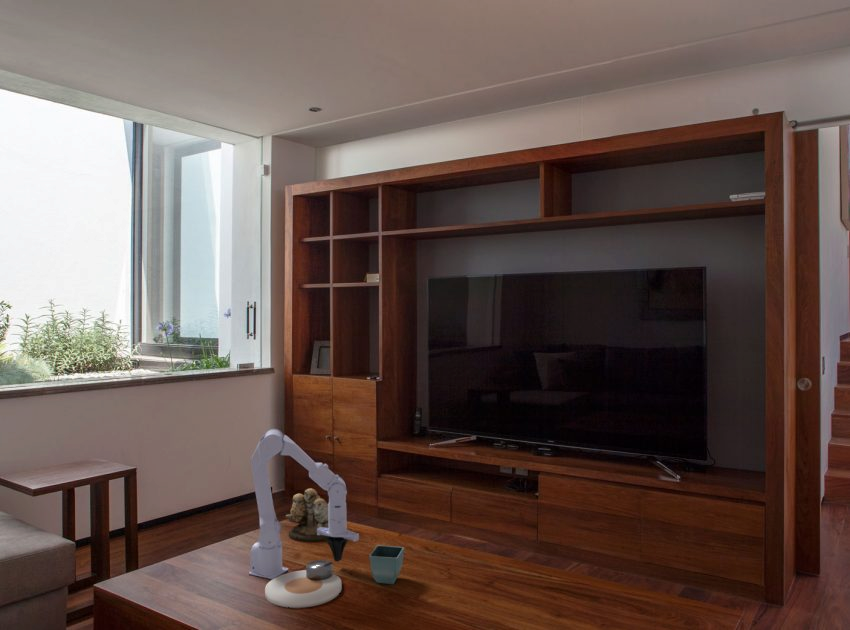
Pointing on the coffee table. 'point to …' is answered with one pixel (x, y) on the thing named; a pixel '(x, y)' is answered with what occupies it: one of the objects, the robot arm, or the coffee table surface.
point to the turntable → (301, 590)
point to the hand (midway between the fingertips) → (337, 560)
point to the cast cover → (319, 570)
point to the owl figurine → (308, 516)
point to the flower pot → (386, 563)
